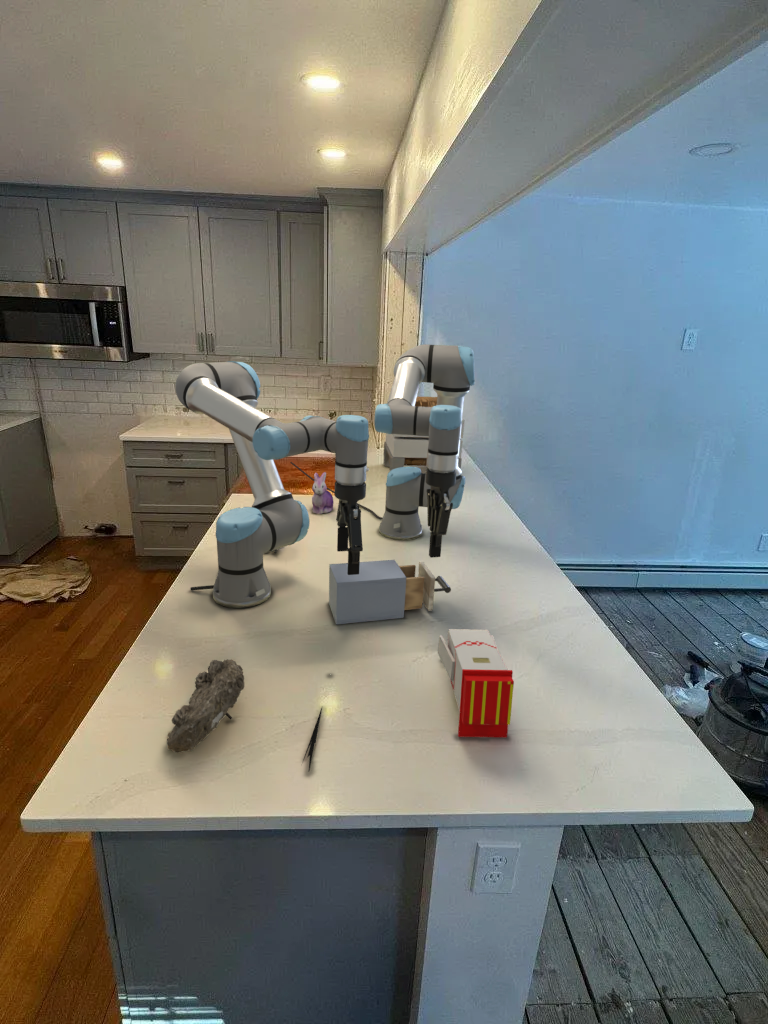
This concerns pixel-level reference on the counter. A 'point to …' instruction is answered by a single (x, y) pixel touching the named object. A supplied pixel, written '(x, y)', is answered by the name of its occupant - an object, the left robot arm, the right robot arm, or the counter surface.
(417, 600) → the drawer
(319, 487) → the figurine
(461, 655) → the toy
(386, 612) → the cabinet
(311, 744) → the feather
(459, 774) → the counter surface
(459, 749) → the counter surface
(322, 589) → the counter surface
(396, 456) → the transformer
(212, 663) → the fossil
